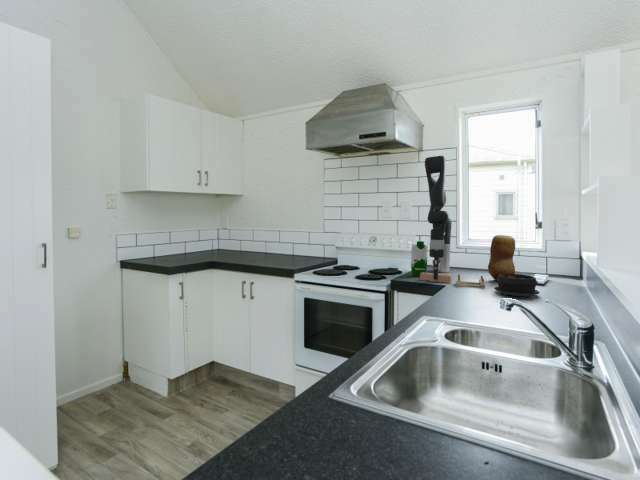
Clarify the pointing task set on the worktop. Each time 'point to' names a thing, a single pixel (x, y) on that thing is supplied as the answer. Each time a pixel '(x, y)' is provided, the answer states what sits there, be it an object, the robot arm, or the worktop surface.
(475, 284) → the rack
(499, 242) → the butternut squash
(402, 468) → the worktop surface
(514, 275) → the casserole
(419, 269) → the milk carton
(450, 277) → the brown wooden block
